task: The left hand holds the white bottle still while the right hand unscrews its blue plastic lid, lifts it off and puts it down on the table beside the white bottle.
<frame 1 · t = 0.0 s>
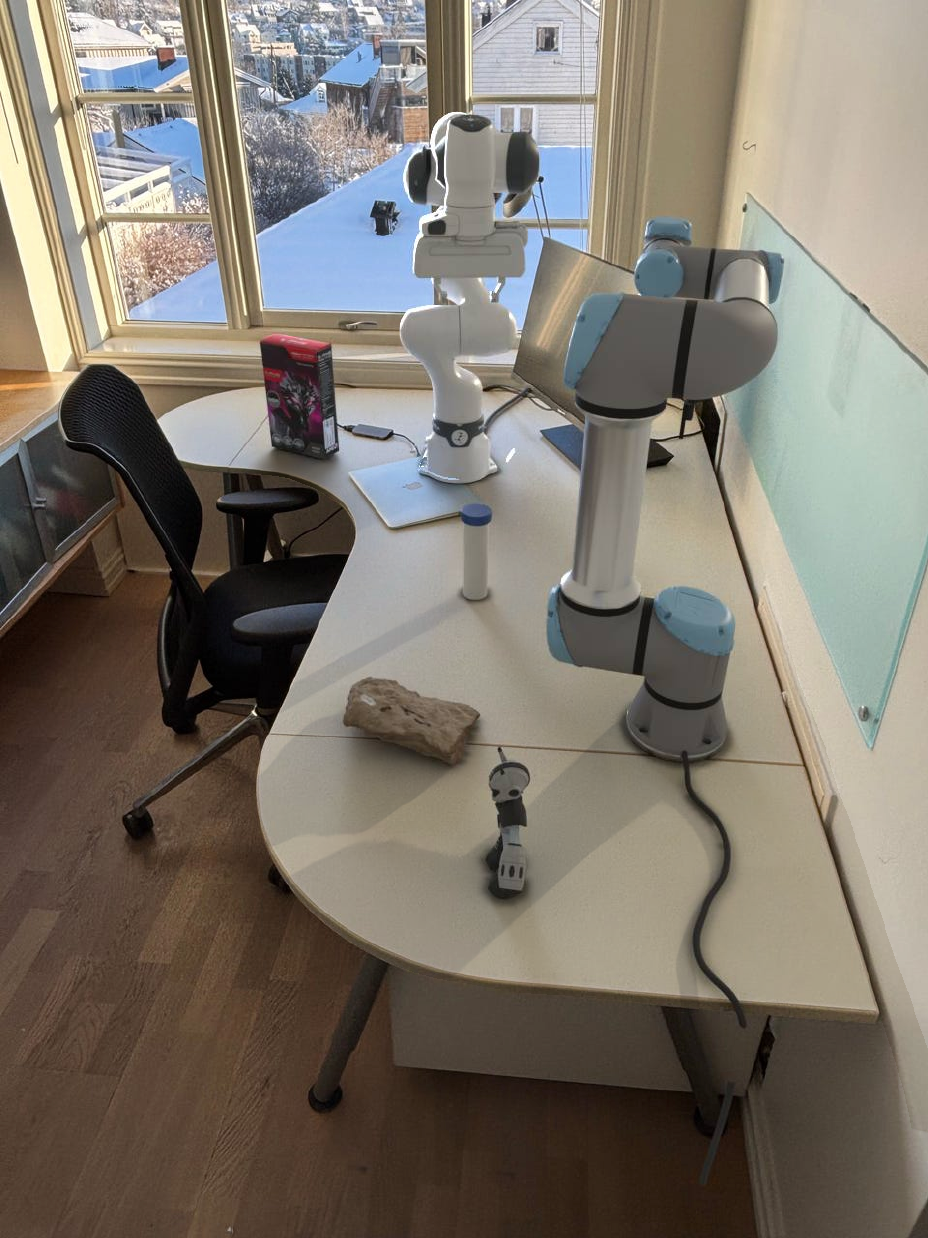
left hand: (468, 302, 169), 48 cm above the table, tool pointing down, fingers open, 8 cm apart
right hand: (643, 432, 170), 28 cm above the table, tool pointing down, fingers open, 13 cm apart
stone: (406, 732, 142), on the table
white bottle: (475, 593, 176), on the table
graphics card box: (305, 450, 231), on the table
lid: (476, 511, 166), point 17 cm above the table, screwed on, not yet turned
robot: (504, 874, 119), on the table
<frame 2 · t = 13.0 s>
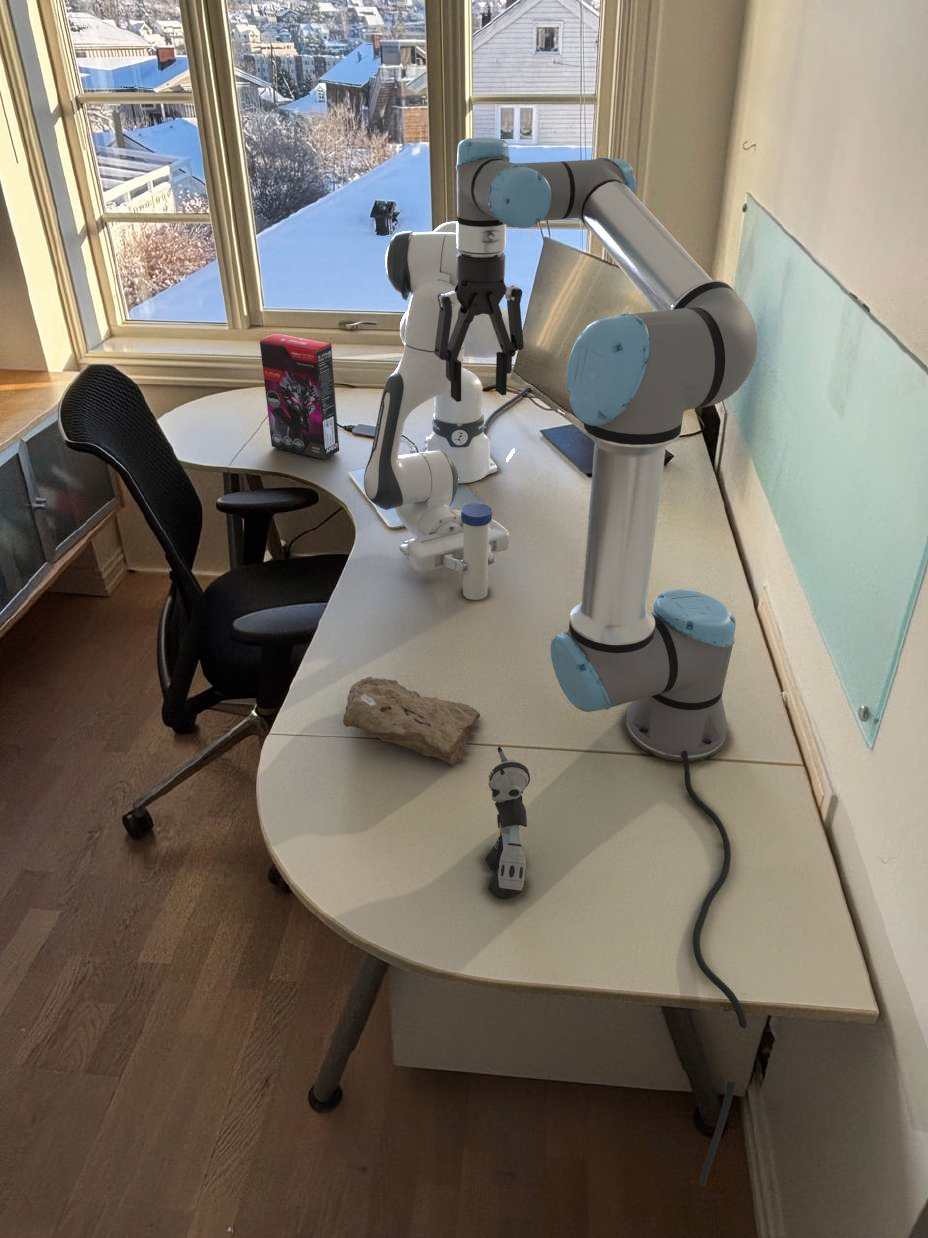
left hand: (478, 564, 171), 7 cm above the table, tool horizontal, fingers closed on white bottle, 4 cm apart
right hand: (478, 395, 154), 39 cm above the table, tool pointing down, fingers open, 7 cm apart
white bottle: (475, 593, 176), on the table, touching left hand
everything else where it was.
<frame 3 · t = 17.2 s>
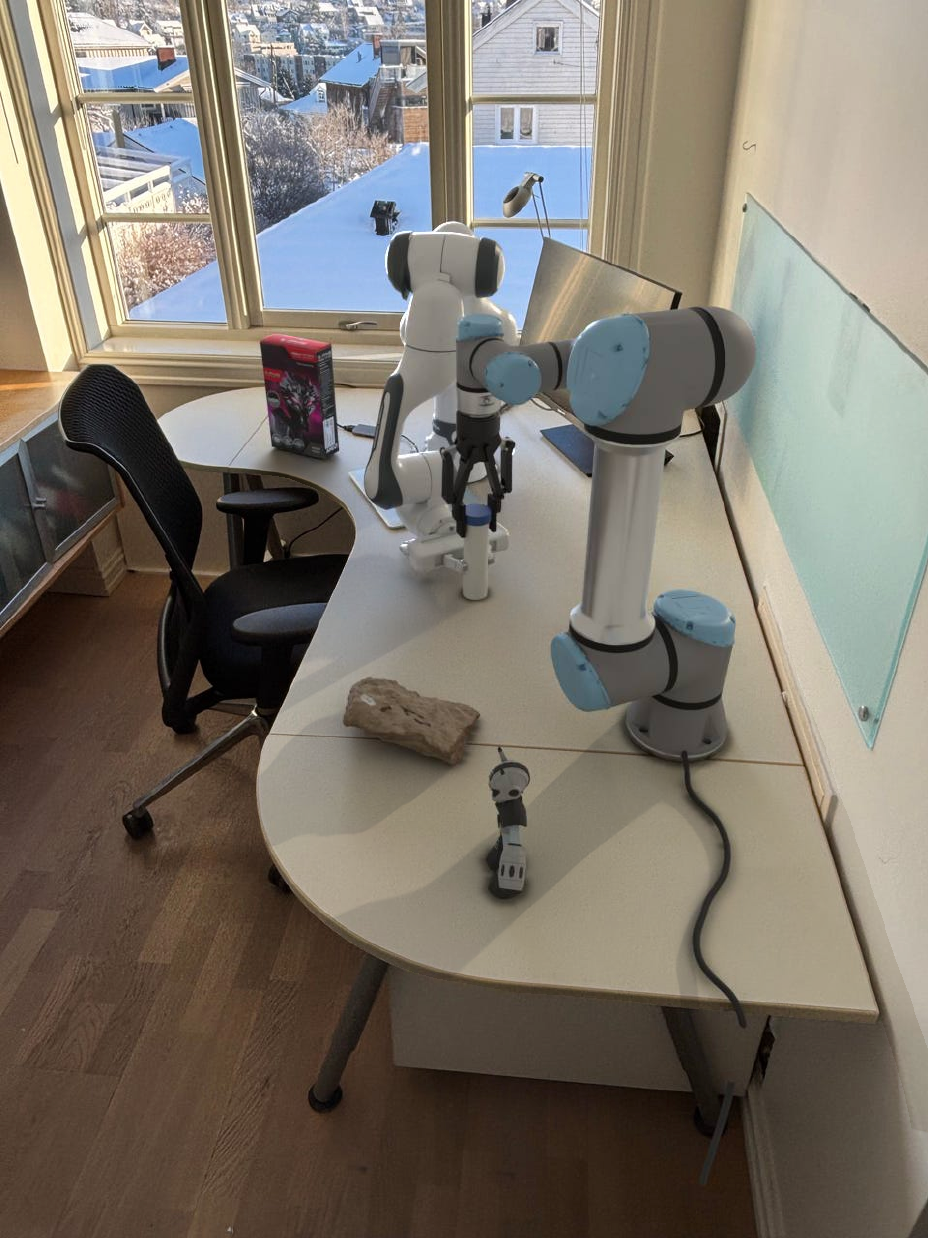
left hand: (478, 564, 171), 7 cm above the table, tool horizontal, fingers closed on white bottle, 4 cm apart
right hand: (476, 531, 168), 13 cm above the table, tool pointing down, fingers closed on lid, 5 cm apart
white bottle: (475, 593, 176), on the table, touching left hand
lid: (476, 511, 166), point 17 cm above the table, screwed on, not yet turned, touching right hand
everything else where it was.
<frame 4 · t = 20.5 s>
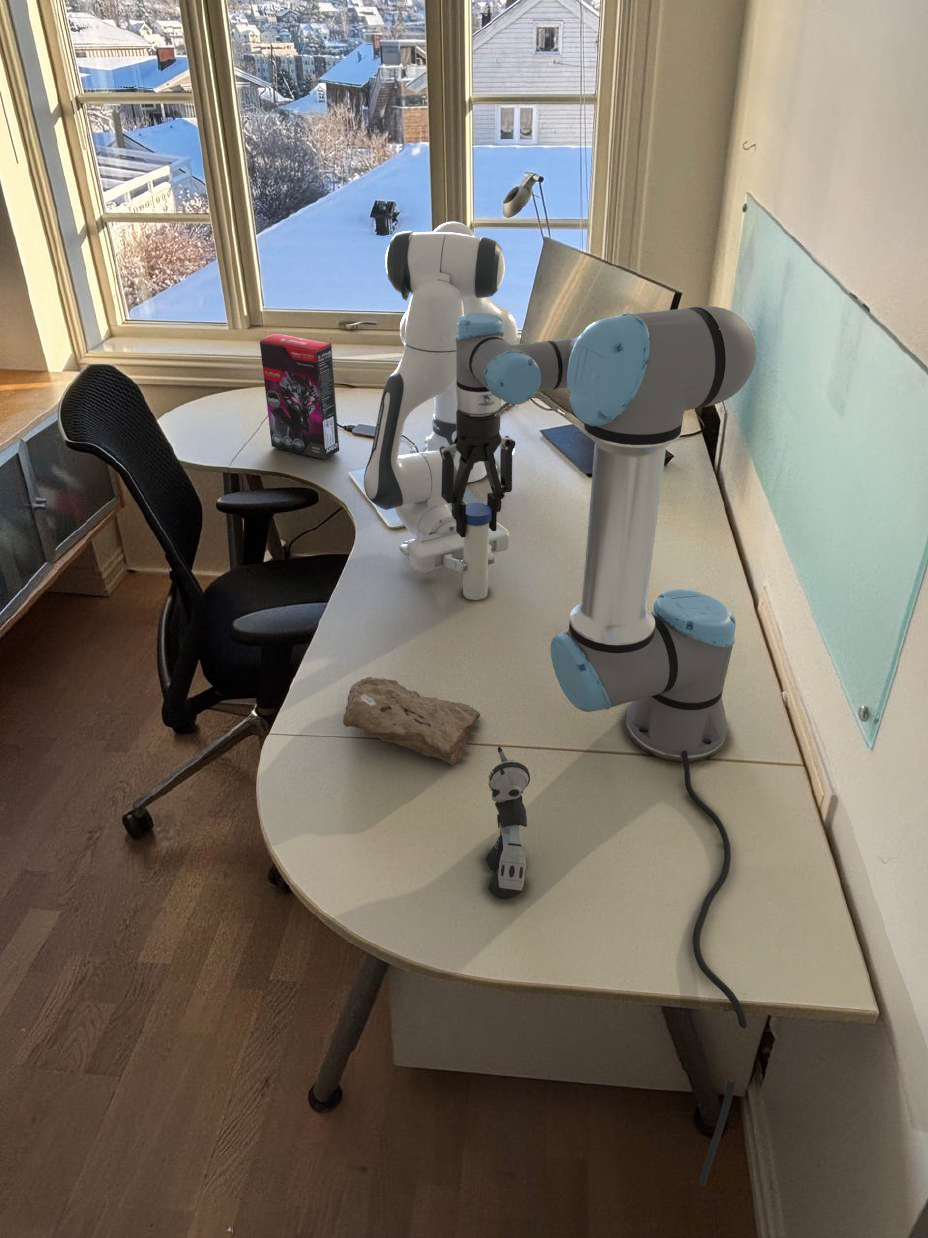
left hand: (478, 564, 171), 7 cm above the table, tool horizontal, fingers closed on white bottle, 4 cm apart
right hand: (476, 530, 168), 14 cm above the table, tool pointing down, fingers closed on lid, 5 cm apart
white bottle: (475, 593, 176), on the table, touching left hand
lid: (476, 511, 166), point 18 cm above the table, turned 111° so far, risen 0.1 cm, still on its thread, touching right hand
everything else where it was.
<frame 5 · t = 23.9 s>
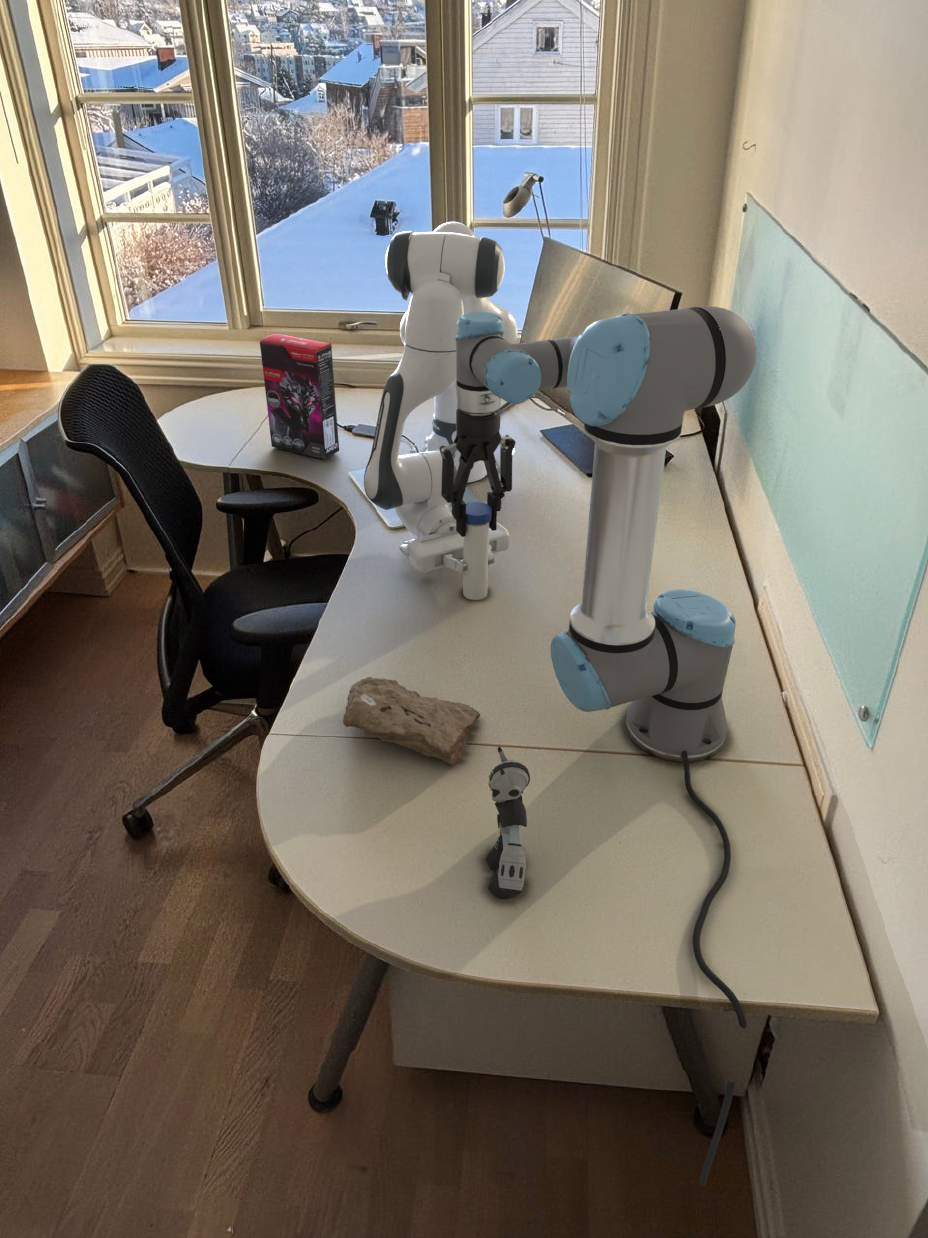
left hand: (478, 564, 171), 7 cm above the table, tool horizontal, fingers closed on white bottle, 4 cm apart
right hand: (476, 529, 168), 14 cm above the table, tool pointing down, fingers closed on lid, 5 cm apart
white bottle: (475, 593, 176), on the table, touching left hand
lid: (476, 510, 166), point 18 cm above the table, turned 223° so far, risen 0.3 cm, still on its thread, touching right hand
everything else where it was.
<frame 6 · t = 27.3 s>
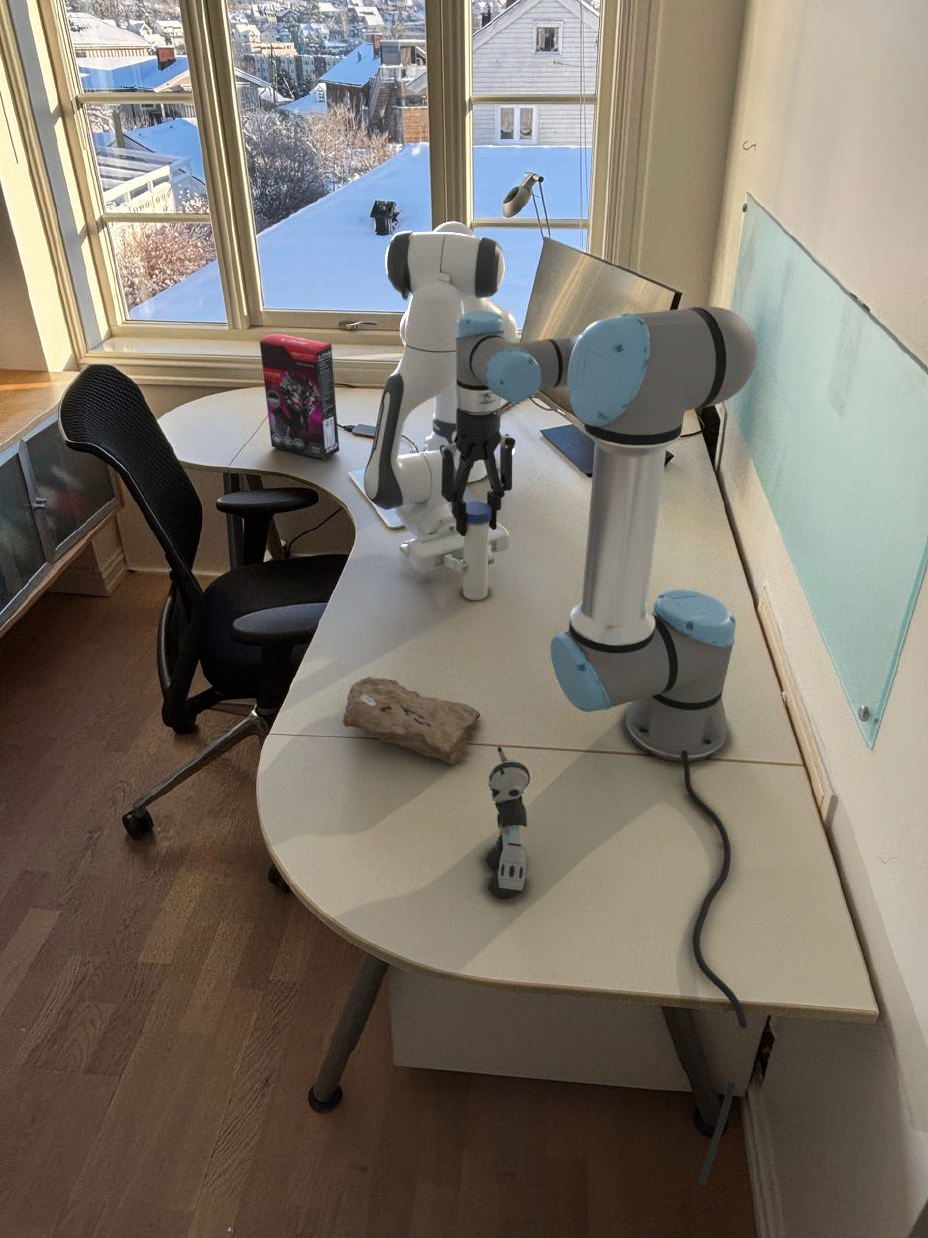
left hand: (478, 564, 171), 7 cm above the table, tool horizontal, fingers closed on white bottle, 4 cm apart
right hand: (476, 529, 168), 14 cm above the table, tool pointing down, fingers closed on lid, 5 cm apart
white bottle: (475, 593, 176), on the table, touching left hand
lid: (476, 509, 166), point 18 cm above the table, turned 334° so far, risen 0.4 cm, still on its thread, touching right hand
everything else where it was.
when the right hand's fingers open (0 cm above the table, at t = 35.5 s): lid drops 3 cm, point 1 cm above the table.
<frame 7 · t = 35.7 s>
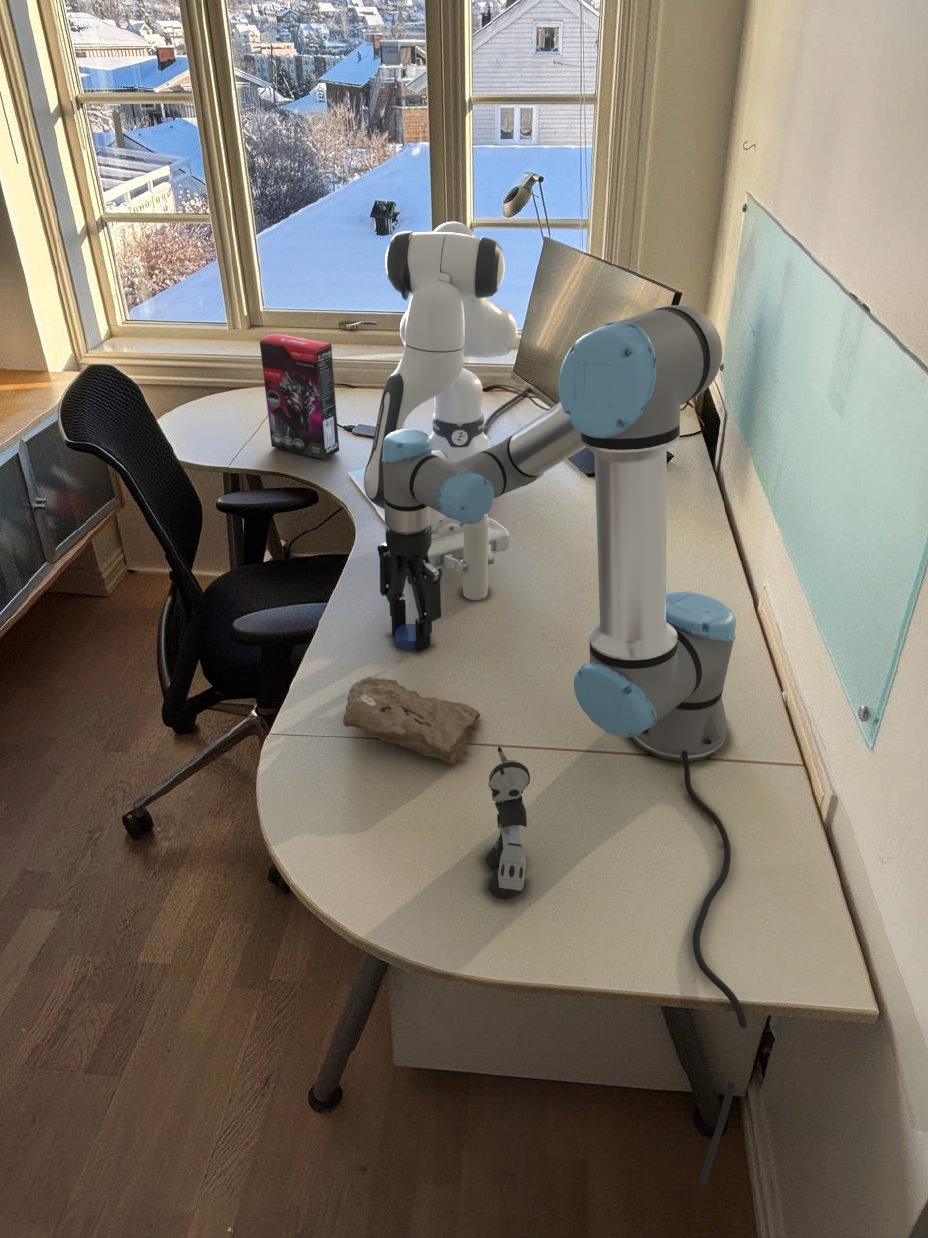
left hand: (478, 564, 171), 7 cm above the table, tool horizontal, fingers closed on white bottle, 4 cm apart
right hand: (410, 640, 163), 0 cm above the table, tool pointing down, fingers open, 6 cm apart
white bottle: (475, 593, 176), on the table, touching left hand
lid: (410, 633, 162), point 1 cm above the table, off its thread, touching right hand
everything else where it was.
when the left hand's fingers open (7 cm above the table, at t = 37.3 s): white bottle stays where it is, on the table.
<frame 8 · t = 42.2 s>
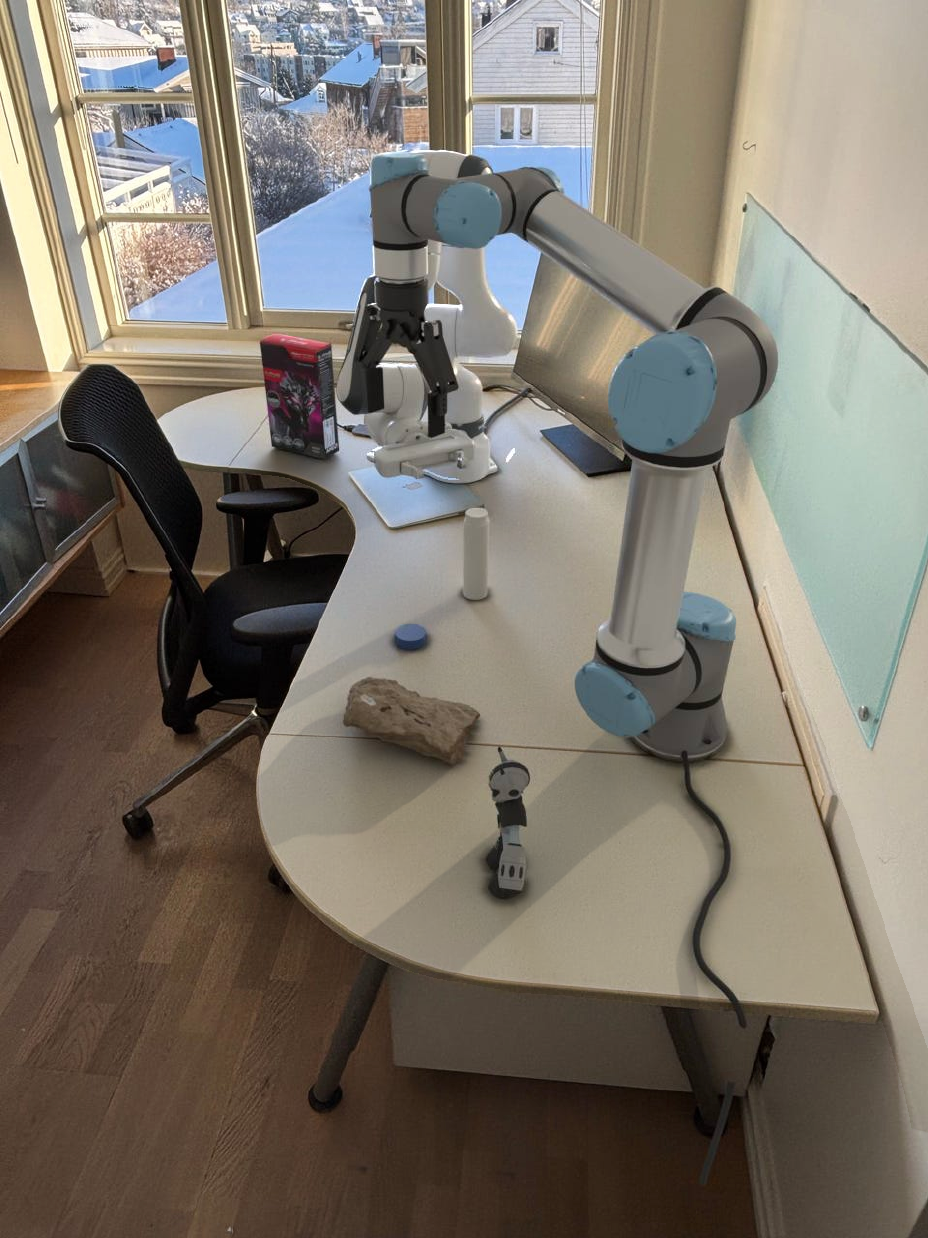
left hand: (442, 469, 174), 20 cm above the table, tool horizontal, fingers open, 8 cm apart
right hand: (405, 422, 140), 41 cm above the table, tool pointing down, fingers open, 13 cm apart
white bottle: (475, 593, 176), on the table
lid: (410, 633, 162), point 2 cm above the table, off its thread
everything else where it was.
at the end: lid came off its thread; lid point 1.5 cm above the table; the left hand is holding nothing; the right hand is holding nothing; white bottle tilted 0°; white bottle moved 0.0 cm from its start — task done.
